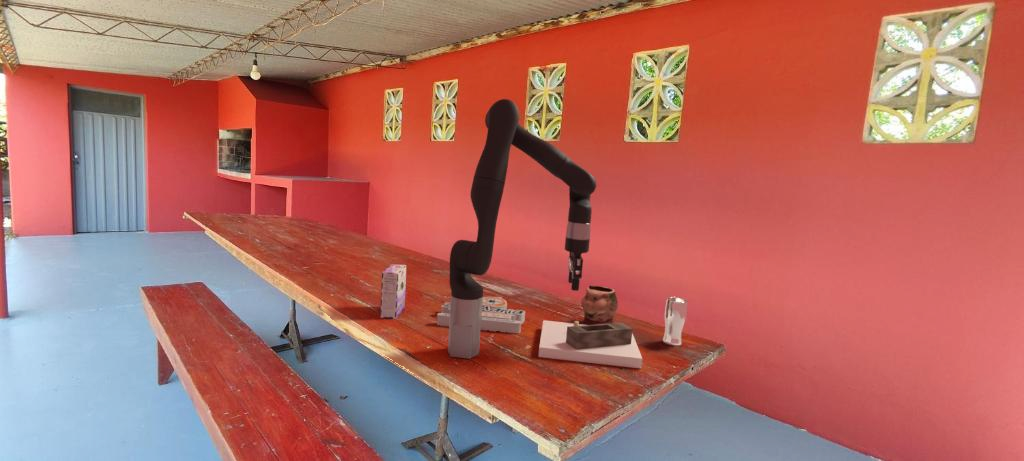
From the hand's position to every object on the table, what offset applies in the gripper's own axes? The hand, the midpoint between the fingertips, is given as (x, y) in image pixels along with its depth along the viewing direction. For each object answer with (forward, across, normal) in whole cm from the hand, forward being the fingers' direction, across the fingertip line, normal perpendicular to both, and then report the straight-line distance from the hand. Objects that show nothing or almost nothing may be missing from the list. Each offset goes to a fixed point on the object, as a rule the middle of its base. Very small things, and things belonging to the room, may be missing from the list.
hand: (573, 286), depth 157 cm
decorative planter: (+20, +21, -14) cm, 32 cm away
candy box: (+20, +18, +61) cm, 67 cm away
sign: (+20, +22, +28) cm, 41 cm away
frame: (+16, -7, -9) cm, 19 cm away
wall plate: (+19, -2, -6) cm, 20 cm away
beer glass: (+20, +7, -36) cm, 42 cm away
